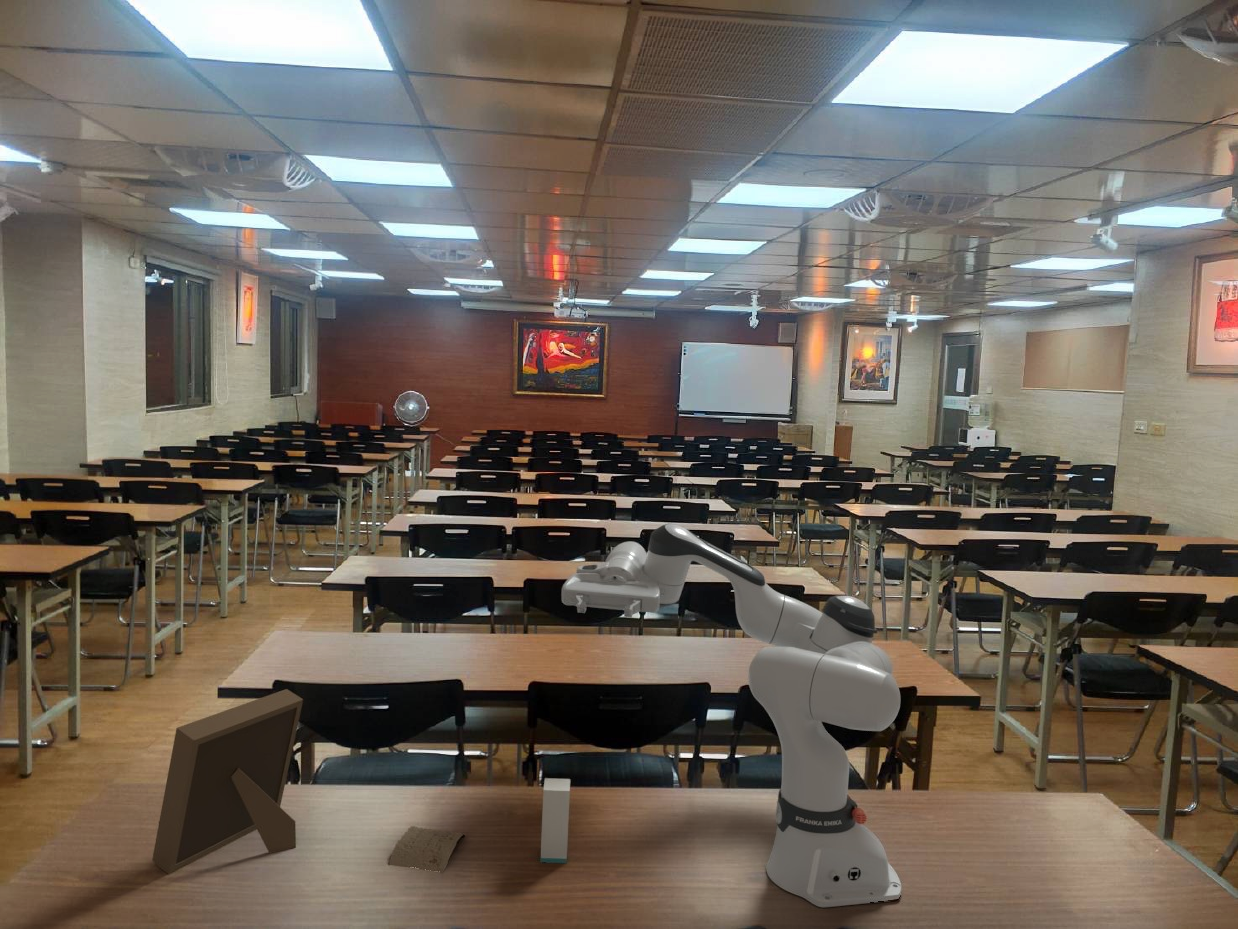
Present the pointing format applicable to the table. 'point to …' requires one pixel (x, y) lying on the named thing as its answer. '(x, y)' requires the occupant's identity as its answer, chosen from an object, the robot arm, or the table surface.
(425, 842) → the clay tablet
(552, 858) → the block
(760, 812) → the table surface
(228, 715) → the photo frame
